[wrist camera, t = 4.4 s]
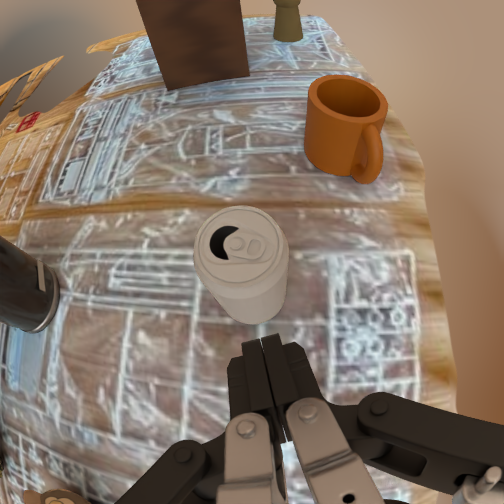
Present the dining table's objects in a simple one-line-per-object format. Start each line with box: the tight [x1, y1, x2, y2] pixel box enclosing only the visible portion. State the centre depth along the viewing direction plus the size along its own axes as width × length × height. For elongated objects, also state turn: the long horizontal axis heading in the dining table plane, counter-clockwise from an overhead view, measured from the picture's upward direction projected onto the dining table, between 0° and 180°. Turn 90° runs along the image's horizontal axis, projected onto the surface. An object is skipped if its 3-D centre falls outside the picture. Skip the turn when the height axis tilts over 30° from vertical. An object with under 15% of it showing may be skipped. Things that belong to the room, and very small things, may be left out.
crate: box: [136, 0, 250, 91], centre depth 34 cm, size 14×12×28 cm
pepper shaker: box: [273, 0, 303, 42], centre depth 44 cm, size 6×6×11 cm
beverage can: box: [193, 206, 289, 324], centre depth 24 cm, size 6×6×12 cm
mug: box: [304, 75, 388, 184], centre depth 31 cm, size 9×12×9 cm
